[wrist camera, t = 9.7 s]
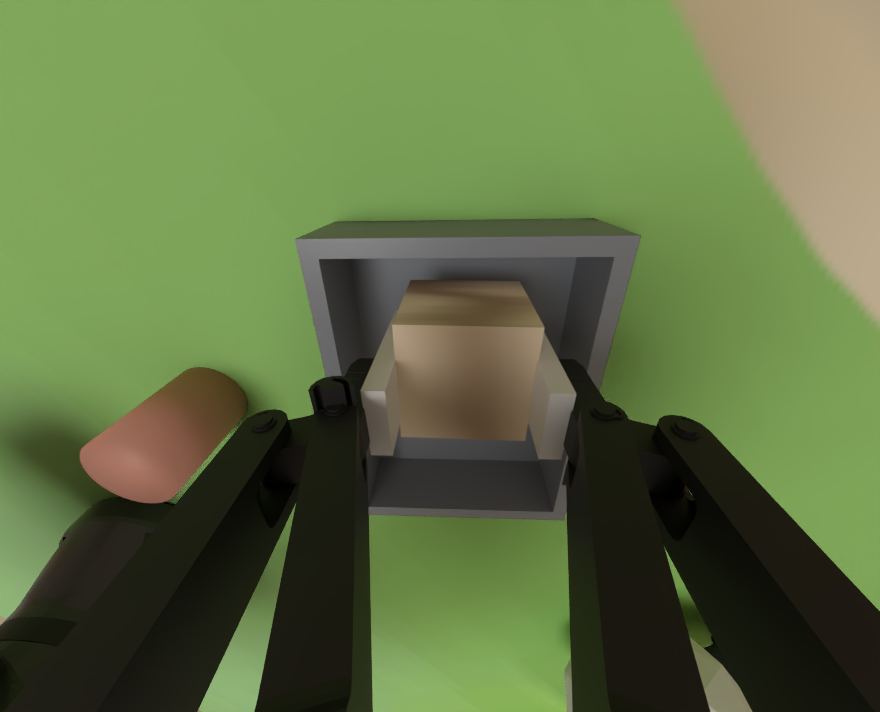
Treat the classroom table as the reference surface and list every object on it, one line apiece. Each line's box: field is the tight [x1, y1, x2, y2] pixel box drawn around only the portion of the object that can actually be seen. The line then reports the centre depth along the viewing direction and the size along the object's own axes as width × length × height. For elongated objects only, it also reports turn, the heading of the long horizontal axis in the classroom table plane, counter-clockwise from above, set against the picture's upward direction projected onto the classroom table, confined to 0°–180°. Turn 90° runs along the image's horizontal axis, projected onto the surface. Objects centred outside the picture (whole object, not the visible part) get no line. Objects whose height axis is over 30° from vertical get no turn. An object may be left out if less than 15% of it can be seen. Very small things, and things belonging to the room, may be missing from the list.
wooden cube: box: [392, 280, 545, 441], centre depth 14 cm, size 5×5×5 cm
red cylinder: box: [80, 367, 247, 503], centre depth 21 cm, size 5×5×7 cm
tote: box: [295, 218, 641, 520], centre depth 19 cm, size 18×14×5 cm
